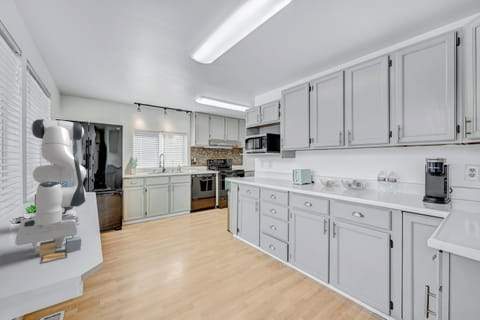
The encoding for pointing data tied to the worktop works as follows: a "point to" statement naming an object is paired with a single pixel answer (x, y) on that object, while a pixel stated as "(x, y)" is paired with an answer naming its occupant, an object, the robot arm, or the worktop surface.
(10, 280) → the worktop surface
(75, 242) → the slate cube
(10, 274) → the worktop surface
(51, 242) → the oak cube
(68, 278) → the worktop surface
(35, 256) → the worktop surface
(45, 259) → the tile
